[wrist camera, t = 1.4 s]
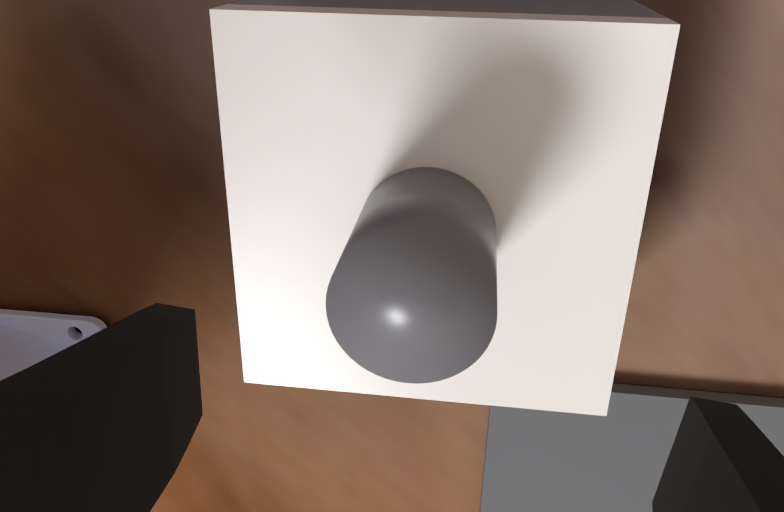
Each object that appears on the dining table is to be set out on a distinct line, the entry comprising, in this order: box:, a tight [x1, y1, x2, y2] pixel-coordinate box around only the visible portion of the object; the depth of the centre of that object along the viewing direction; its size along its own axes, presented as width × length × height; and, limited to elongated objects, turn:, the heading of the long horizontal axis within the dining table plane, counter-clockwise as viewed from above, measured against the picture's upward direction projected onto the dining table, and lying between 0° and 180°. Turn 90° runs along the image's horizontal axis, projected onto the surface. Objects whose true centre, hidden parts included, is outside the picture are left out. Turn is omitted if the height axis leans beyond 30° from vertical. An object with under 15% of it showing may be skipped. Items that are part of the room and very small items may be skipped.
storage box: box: [229, 0, 667, 18], centre depth 18 cm, size 9×9×4 cm
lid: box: [209, 4, 680, 416], centre depth 14 cm, size 9×9×5 cm
